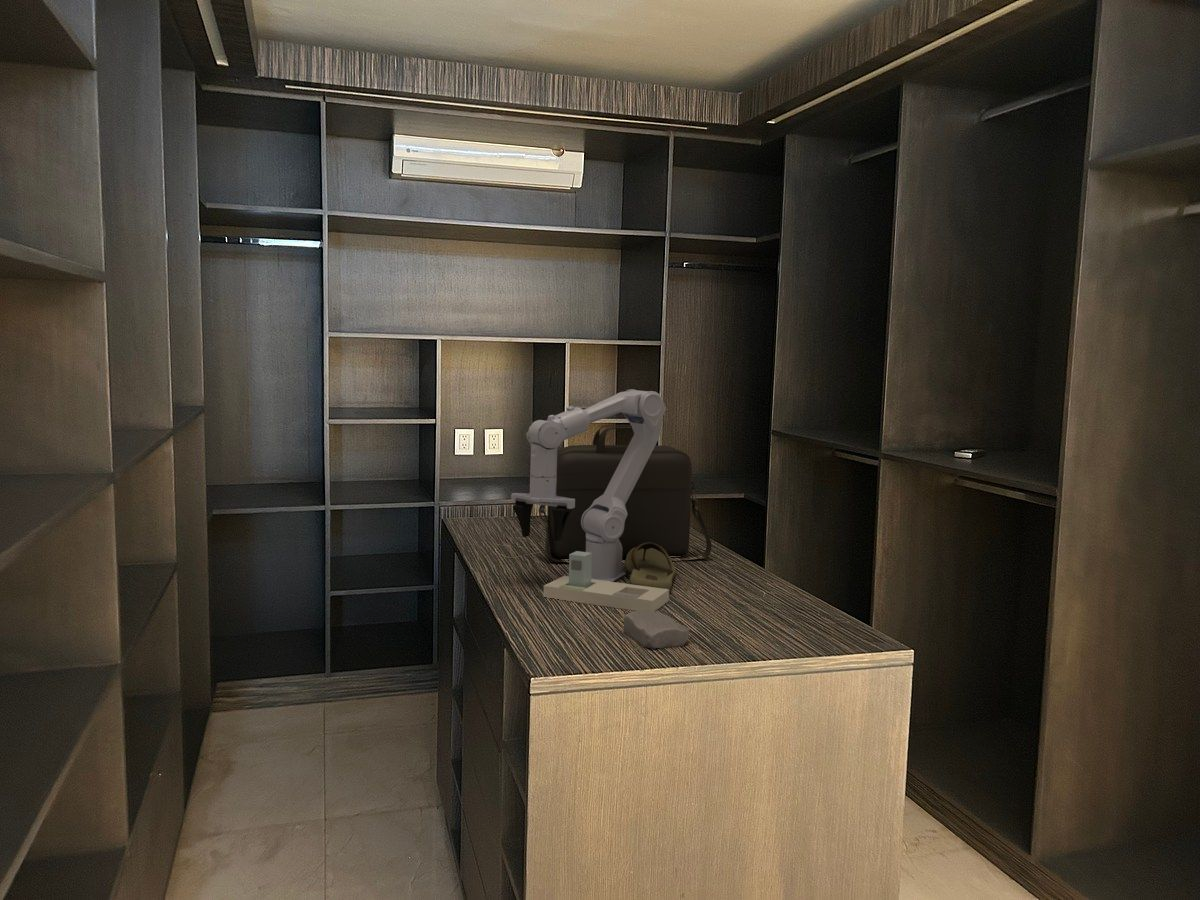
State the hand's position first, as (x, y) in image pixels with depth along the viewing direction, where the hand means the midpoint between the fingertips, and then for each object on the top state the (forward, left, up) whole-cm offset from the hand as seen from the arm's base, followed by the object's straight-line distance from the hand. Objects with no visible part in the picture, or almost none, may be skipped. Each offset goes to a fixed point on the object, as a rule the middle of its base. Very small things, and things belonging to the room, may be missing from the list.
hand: (541, 538), depth 202 cm
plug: (+4, +11, -10) cm, 16 cm away
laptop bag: (-35, +5, -11) cm, 37 cm away
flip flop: (-16, +19, -11) cm, 27 cm away
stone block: (+23, +36, -11) cm, 44 cm away
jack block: (+4, +17, -10) cm, 20 cm away
